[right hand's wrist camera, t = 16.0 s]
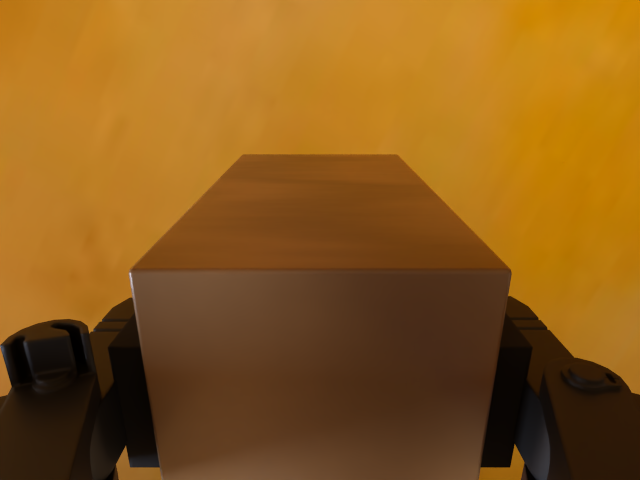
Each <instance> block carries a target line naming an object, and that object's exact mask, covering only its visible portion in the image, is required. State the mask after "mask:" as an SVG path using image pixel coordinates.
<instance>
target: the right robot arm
mask: <svg viewBox="0 0 640 480" xmlns="http://www.w3.org/2000/svg"><path fill="white" fill-rule="evenodd" d="M0 347H1V350H2V354H3V357H4V361H5V364H6V368H7V371H8V375H9V378H10V382H11V385H12V388H11V390H10V392H9V394H8V395H6V396H2V397H0V480H119V479H118V473H117V468H116V463H117V461H118V459H119V457H120V455H121V453H122V452H123V450H124V448H125V446H126V447H127V453H128V458H129V463H130V467H160V465H159V459H158V452H157V446H156V440H155V434H154V427H153V421H152V415H151V409H150V402H149V396H148V390H147V384H146V378H145V371H144V365H143V359H142V353H141V346H140V340H139V334H138V328H137V321H136V315H135V309H134V303H133V298H129V299H127V300H125V301H123V302H122V303H120V304H118V305H117V306H115V307H113V308H112V309H111V310H110V311H109V312H108V314H107V315H106V316H105V317H104V318H103V319H102V322H99V324H98V325H97V326H96V327H95V328H94V331H93V332H91V333H90V334H89V331H88V326H87V325H85V324H84V323H83V322H81V321H77V320H71V319H63V320H52V321H47V322H42V323H38V324H35V325H32V326H30V327H27V328H24V329H22V330H20V331H18V332H17V333H15V334H13V335H11V336H10V337H8V338H7V339H6V340H5V341H4V342H3V343H2V344H1V345H0ZM514 444H515V445H516V447H517V449H518V450H519V452H520V454H521V456H522V458H523V460H524V462H525V463H524V468H523V473H522V478H521V480H640V395H638V394H635V393H631V391H630V389H629V387H628V386H627V384H626V383H625V382H624V381H623V380H622V378H621V377H620V376H618V375H617V374H615V373H614V372H612V371H611V370H609V369H608V368H606V367H603V366H601V365H599V364H596V363H594V362H591V361H587V360H583V359H579V358H574V357H573V356H572V355H571V353H570V352H569V351H568V350H567V349H566V348H565V347H564V346H563V345H562V343H561V342H560V341H559V340H558V339H557V338H556V337H555V336H554V335H553V333H552V332H551V331H550V330H547V327H546V326H545V325H544V324H543V322H542V321H541V320H538V317H537V316H536V315H535V314H534V312H533V311H532V310H531V309H530V308H529V307H528V306H527V305H525V304H523V303H521V302H520V301H518V300H516V299H515V298H513V297H511V296H508V299H507V305H506V311H505V317H504V324H503V330H502V336H501V342H500V349H499V355H498V361H497V367H496V373H495V380H494V386H493V392H492V398H491V405H490V411H489V417H488V423H487V429H486V436H485V442H484V448H483V454H482V461H481V467H510V465H511V460H512V454H513V449H514Z"/></svg>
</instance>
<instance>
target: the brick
mask: <svg viewBox="0 0 640 480" xmlns="http://www.w3.org/2000/svg"><path fill="white" fill-rule="evenodd" d="M129 278H130V284H131V290H132V297H133V303H134V309H135V315H136V321H137V328H138V334H139V340H140V346H141V353H142V359H143V365H144V371H145V378H146V384H147V390H148V396H149V402H150V409H151V415H152V421H153V427H154V434H155V440H156V446H157V452H158V459H159V465H160V471H161V477H162V480H478V479H479V473H480V467H481V461H482V454H483V448H484V442H485V436H486V429H487V423H488V417H489V411H490V405H491V398H492V392H493V386H494V380H495V373H496V367H497V361H498V355H499V349H500V342H501V336H502V330H503V324H504V317H505V311H506V305H507V299H508V293H509V286H510V280H511V270H510V268H509V267H508V266H507V265H506V264H505V263H504V262H503V261H502V260H501V259H500V258H499V257H498V256H497V255H496V254H495V253H494V252H493V251H492V250H491V249H490V248H489V247H488V246H487V245H486V244H485V243H484V242H483V241H482V240H481V239H480V238H479V237H478V236H477V235H476V234H475V233H474V232H473V231H472V230H471V229H470V228H469V227H468V226H467V225H466V224H465V223H464V222H463V221H462V220H461V219H460V218H459V217H458V216H457V215H456V214H455V213H454V212H453V211H452V210H451V209H450V208H449V207H448V205H447V204H446V203H445V202H444V201H443V200H442V199H441V198H440V197H439V196H438V195H437V194H436V193H435V192H434V191H433V190H432V189H431V188H430V187H429V186H428V185H427V184H426V183H425V182H424V181H423V180H422V179H421V178H420V177H419V176H418V175H417V174H416V173H415V172H414V171H413V170H412V169H411V168H410V167H409V166H408V165H407V164H406V163H405V162H404V161H403V160H402V159H401V158H400V157H399V156H398V155H242V156H241V157H240V158H239V159H238V160H237V161H236V162H235V163H234V164H233V165H232V166H231V167H230V168H229V169H228V170H227V171H226V172H225V173H224V174H223V175H222V176H221V177H220V178H219V179H218V180H217V181H216V182H215V183H214V184H213V185H212V186H211V187H210V188H209V189H208V191H207V192H206V193H205V194H204V195H203V196H202V197H201V198H200V199H199V200H198V201H197V202H196V203H195V204H194V205H193V206H192V207H191V208H190V209H189V210H188V211H187V212H186V213H185V214H184V215H183V216H182V217H181V218H180V219H179V220H178V221H177V222H176V223H175V224H174V225H173V226H172V227H171V228H170V229H169V230H168V231H167V232H166V233H165V234H164V235H163V236H162V237H161V238H160V239H159V240H158V241H157V242H156V243H155V244H154V245H153V246H152V247H151V248H150V249H149V250H148V251H147V252H146V253H145V254H144V256H143V257H142V258H141V259H140V260H139V261H138V262H137V263H136V264H135V265H134V266H133V267H132V268H131V269H130V271H129Z"/></svg>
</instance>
